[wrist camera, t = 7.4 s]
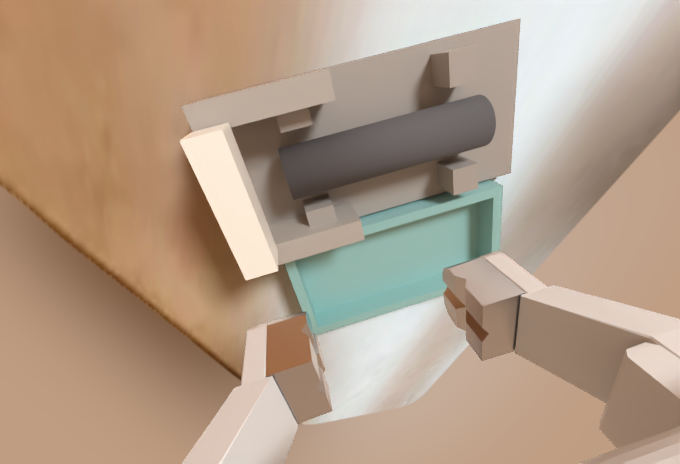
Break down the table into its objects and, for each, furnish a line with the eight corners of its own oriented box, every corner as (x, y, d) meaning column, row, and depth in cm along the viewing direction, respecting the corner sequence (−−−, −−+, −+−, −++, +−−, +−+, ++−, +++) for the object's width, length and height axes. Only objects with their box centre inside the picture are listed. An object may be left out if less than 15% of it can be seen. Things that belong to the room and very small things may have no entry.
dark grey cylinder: (465, 93, 22) (496, 96, 19) (466, 141, 24) (494, 151, 21) (277, 143, 21) (278, 155, 18) (292, 190, 23) (295, 207, 20)
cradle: (508, 21, 21) (565, 8, 17) (501, 169, 27) (543, 186, 22) (200, 99, 20) (181, 106, 16) (258, 239, 25) (255, 272, 21)
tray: (483, 176, 27) (503, 185, 24) (481, 263, 31) (498, 277, 29) (278, 235, 25) (279, 251, 23) (309, 316, 30) (311, 336, 28)
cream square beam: (228, 122, 16) (221, 129, 14) (277, 250, 20) (278, 271, 18) (191, 132, 16) (179, 140, 14) (248, 258, 20) (245, 280, 18)
